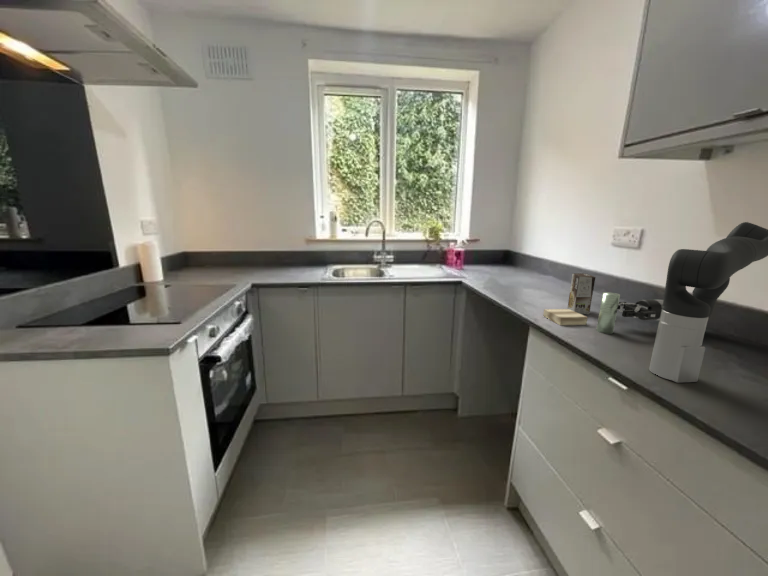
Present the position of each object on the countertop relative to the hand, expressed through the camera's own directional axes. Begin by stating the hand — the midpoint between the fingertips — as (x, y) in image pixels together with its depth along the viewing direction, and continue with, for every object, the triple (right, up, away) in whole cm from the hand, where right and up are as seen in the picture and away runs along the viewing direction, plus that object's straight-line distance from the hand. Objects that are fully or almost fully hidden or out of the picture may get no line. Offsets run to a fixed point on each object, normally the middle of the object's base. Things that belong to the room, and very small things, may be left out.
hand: (613, 310), depth 124 cm
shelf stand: (-11, -5, +13) cm, 18 cm away
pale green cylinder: (-2, -8, +2) cm, 8 cm away
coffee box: (+2, -2, +27) cm, 27 cm away
